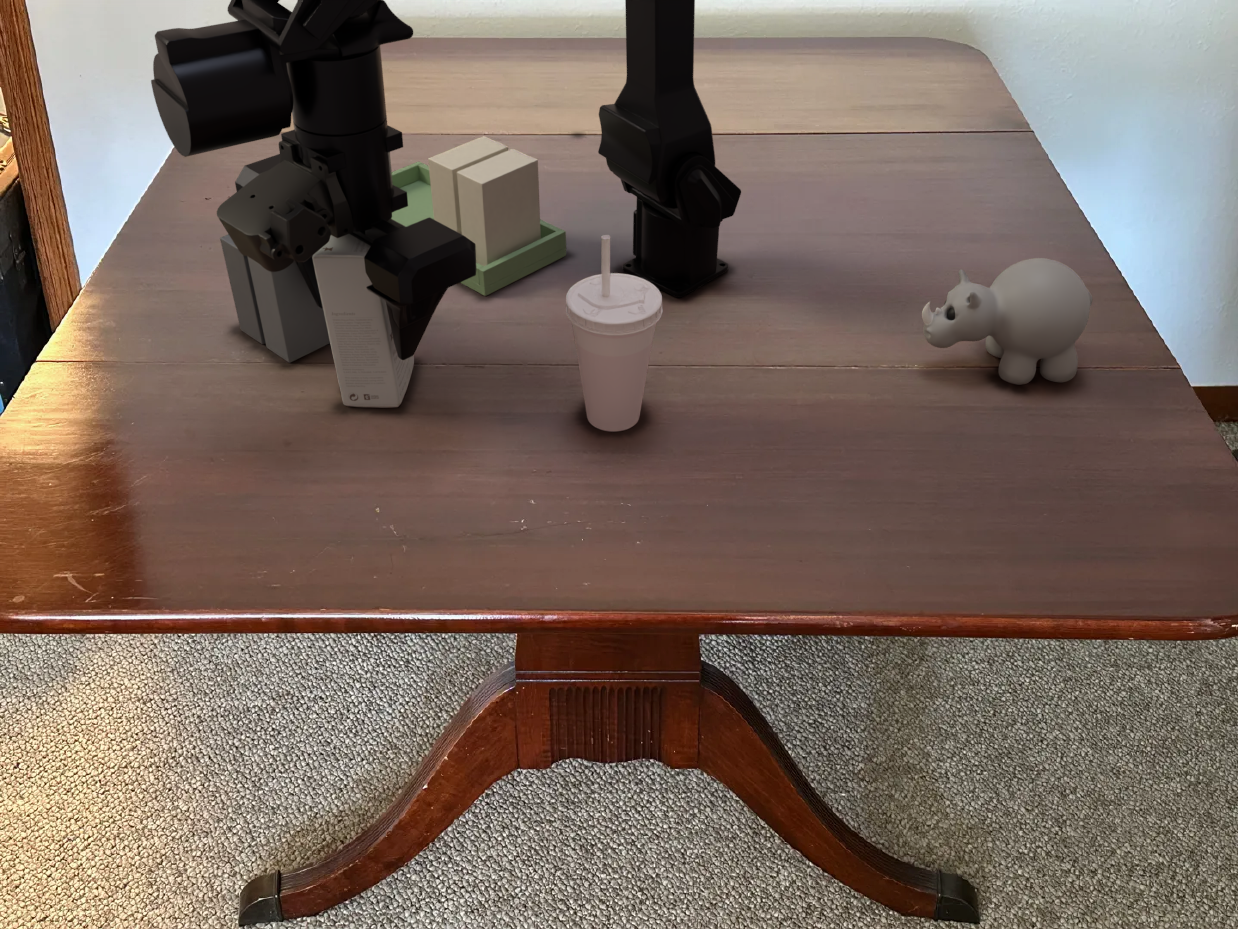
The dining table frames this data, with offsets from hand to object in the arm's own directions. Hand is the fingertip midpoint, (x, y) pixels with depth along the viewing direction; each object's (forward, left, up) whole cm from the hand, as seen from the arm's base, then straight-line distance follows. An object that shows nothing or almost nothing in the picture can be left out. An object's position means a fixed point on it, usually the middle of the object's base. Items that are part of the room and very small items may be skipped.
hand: (364, 330), depth 85 cm
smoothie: (-15, -9, -5) cm, 19 cm away
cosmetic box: (0, 0, -5) cm, 5 cm away
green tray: (+13, -18, -5) cm, 23 cm away
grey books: (+10, 0, -5) cm, 11 cm away
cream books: (+8, -18, -5) cm, 20 cm away
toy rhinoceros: (-31, -33, -5) cm, 46 cm away
